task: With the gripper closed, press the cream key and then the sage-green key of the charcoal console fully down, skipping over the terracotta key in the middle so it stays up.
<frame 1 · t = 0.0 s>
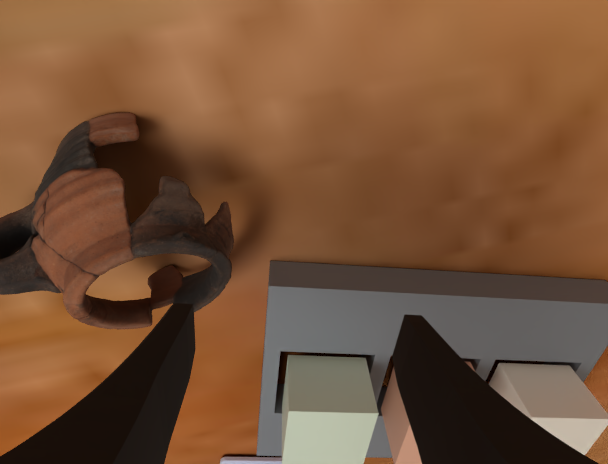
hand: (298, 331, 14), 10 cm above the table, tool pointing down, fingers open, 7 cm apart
console: (414, 360, 29), on the table
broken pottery: (130, 203, 22), on the table
cream key: (536, 414, 26), point 4 cm above the table, slide at 0.0 cm
sage key: (324, 409, 25), point 4 cm above the table, slide at 0.0 cm
terracotta key: (433, 412, 25), point 4 cm above the table, slide at 0.0 cm
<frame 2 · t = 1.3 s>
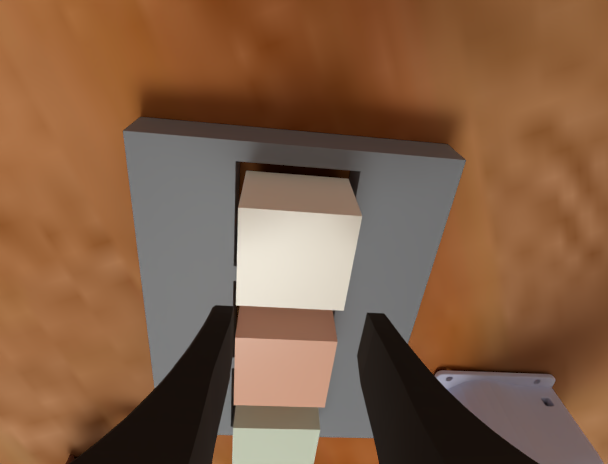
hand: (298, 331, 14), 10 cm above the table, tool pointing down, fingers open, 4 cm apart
console: (283, 297, 26), on the table
cream key: (294, 239, 19), point 4 cm above the table, slide at 0.0 cm
sage key: (274, 424, 26), point 4 cm above the table, slide at 0.0 cm
terracotta key: (283, 346, 22), point 4 cm above the table, slide at 0.0 cm
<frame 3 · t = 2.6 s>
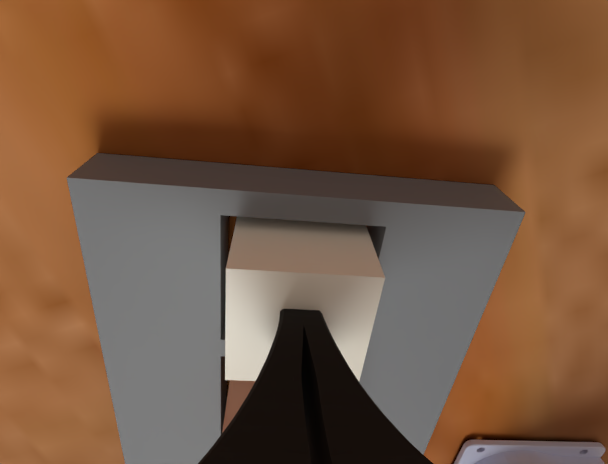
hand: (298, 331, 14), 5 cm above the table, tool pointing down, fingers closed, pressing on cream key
console: (283, 362, 21), on the table
cream key: (297, 295, 15), point 3 cm above the table, slide at 1.3 cm, touching gripper
terracotta key: (283, 438, 18), point 4 cm above the table, slide at 0.0 cm
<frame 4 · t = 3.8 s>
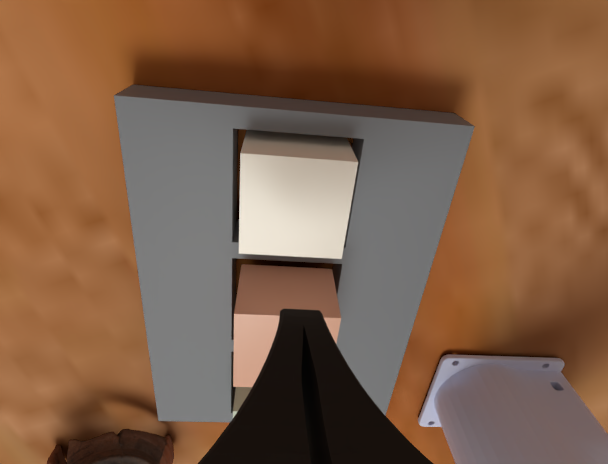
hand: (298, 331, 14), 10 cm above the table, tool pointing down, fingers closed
console: (283, 277, 25), on the table
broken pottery: (122, 448, 34), on the table
cream key: (293, 192, 20), point 2 cm above the table, slide at 2.0 cm
sage key: (276, 409, 25), point 4 cm above the table, slide at 0.0 cm
terracotta key: (284, 325, 22), point 4 cm above the table, slide at 0.0 cm
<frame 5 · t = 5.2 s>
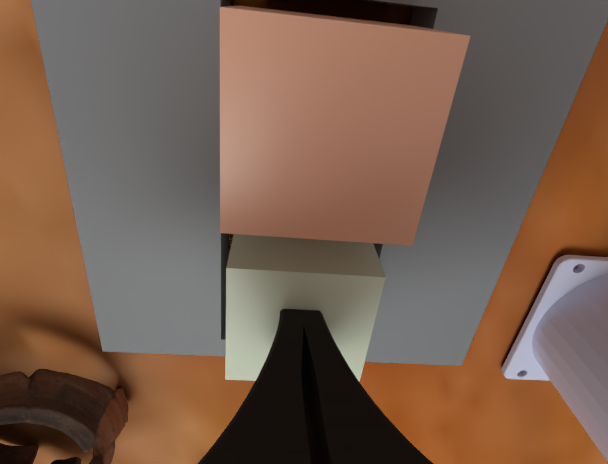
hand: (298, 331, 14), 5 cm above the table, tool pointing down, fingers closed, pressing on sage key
console: (313, 91, 15), on the table
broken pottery: (55, 408, 23), on the table
sage key: (297, 295, 15), point 3 cm above the table, slide at 1.3 cm, touching gripper
terracotta key: (323, 122, 11), point 4 cm above the table, slide at 0.0 cm
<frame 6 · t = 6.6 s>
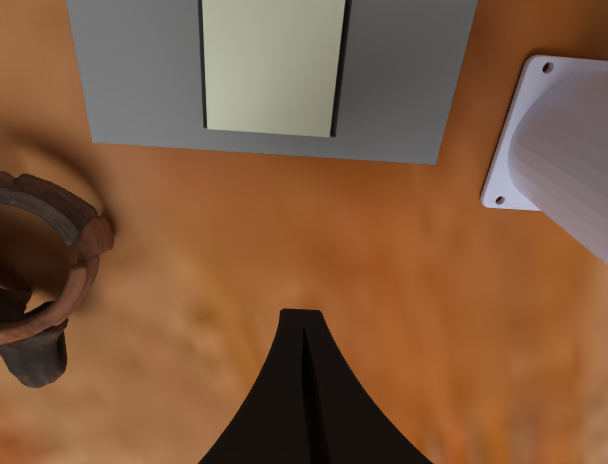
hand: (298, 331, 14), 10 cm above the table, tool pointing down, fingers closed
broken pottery: (46, 248, 24), on the table
sage key: (273, 61, 17), point 2 cm above the table, slide at 2.0 cm
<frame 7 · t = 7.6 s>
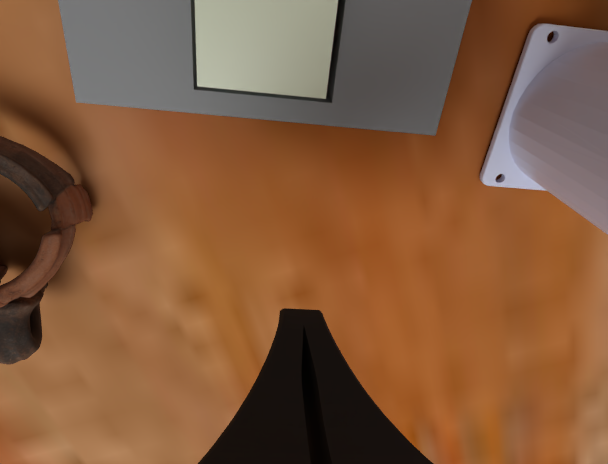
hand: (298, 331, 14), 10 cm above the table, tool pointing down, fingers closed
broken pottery: (21, 220, 23), on the table
sage key: (268, 18, 16), point 2 cm above the table, slide at 2.0 cm
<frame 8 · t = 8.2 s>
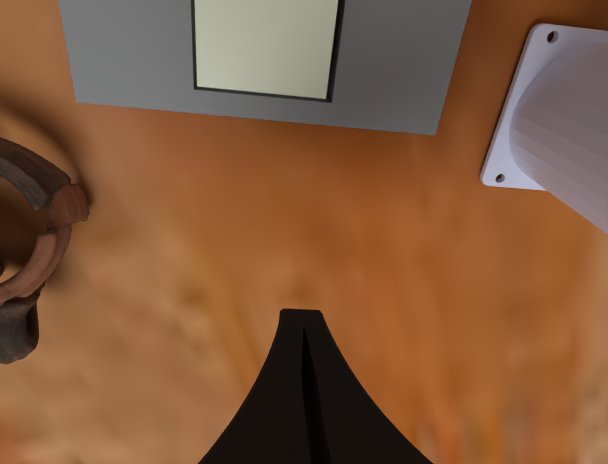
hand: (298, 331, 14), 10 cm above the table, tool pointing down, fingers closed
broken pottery: (18, 220, 23), on the table
sage key: (268, 18, 16), point 2 cm above the table, slide at 2.0 cm
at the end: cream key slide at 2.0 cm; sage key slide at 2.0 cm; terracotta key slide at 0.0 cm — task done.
